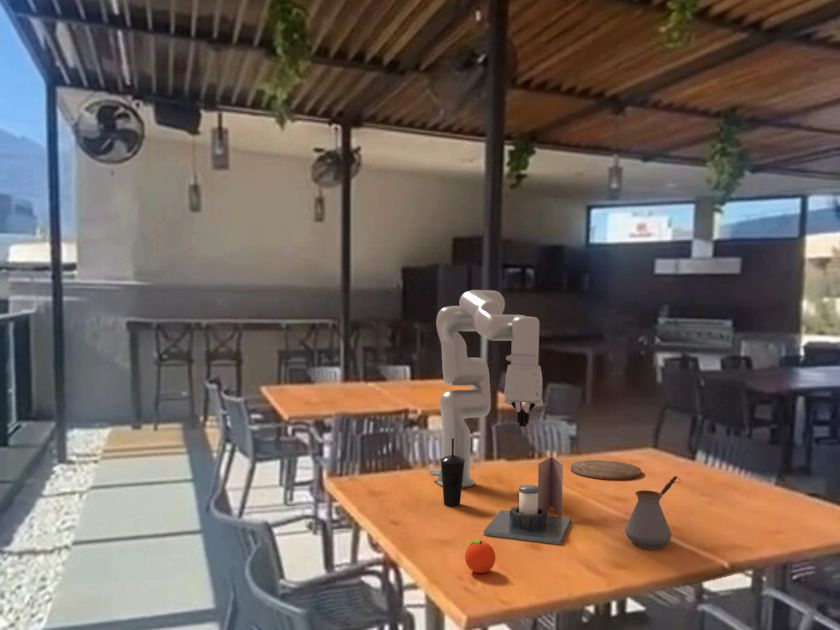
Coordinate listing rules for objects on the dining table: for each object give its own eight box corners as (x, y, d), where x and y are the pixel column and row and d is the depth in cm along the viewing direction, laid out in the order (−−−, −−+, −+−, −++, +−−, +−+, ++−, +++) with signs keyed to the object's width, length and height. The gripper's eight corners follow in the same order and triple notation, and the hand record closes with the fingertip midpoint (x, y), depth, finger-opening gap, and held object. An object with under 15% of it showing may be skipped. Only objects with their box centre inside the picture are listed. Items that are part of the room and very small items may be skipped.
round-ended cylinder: (517, 525, 189) (517, 488, 189) (520, 520, 194) (520, 484, 194) (536, 527, 187) (537, 490, 187) (539, 522, 192) (539, 485, 192)
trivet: (630, 485, 240) (630, 479, 240) (560, 475, 253) (560, 469, 253) (649, 471, 261) (649, 465, 261) (583, 462, 274) (583, 457, 274)
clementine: (456, 574, 157) (456, 543, 157) (465, 564, 164) (465, 533, 164) (490, 580, 154) (491, 547, 154) (498, 569, 161) (499, 538, 161)
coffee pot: (657, 554, 172) (658, 493, 171) (615, 542, 180) (616, 484, 180) (696, 535, 186) (698, 479, 186) (656, 525, 195) (657, 471, 194)
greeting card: (548, 505, 213) (549, 456, 213) (572, 509, 209) (572, 459, 209) (534, 514, 203) (535, 463, 203) (559, 519, 199) (560, 466, 199)
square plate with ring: (483, 535, 184) (483, 517, 184) (500, 514, 203) (501, 497, 203) (560, 544, 178) (560, 526, 178) (570, 522, 196) (571, 505, 196)
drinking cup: (468, 502, 214) (469, 437, 214) (459, 509, 207) (459, 442, 207) (445, 499, 217) (446, 435, 217) (435, 506, 210) (436, 439, 210)
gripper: (495, 360, 195) (493, 425, 196) (549, 363, 190) (547, 430, 191) (501, 358, 202) (500, 421, 203) (553, 360, 197) (551, 425, 198)
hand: (523, 425), depth 197 cm, fingers closed
